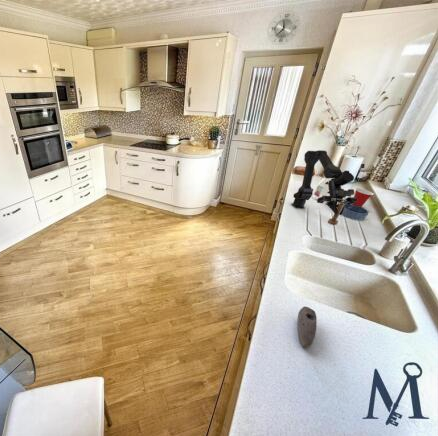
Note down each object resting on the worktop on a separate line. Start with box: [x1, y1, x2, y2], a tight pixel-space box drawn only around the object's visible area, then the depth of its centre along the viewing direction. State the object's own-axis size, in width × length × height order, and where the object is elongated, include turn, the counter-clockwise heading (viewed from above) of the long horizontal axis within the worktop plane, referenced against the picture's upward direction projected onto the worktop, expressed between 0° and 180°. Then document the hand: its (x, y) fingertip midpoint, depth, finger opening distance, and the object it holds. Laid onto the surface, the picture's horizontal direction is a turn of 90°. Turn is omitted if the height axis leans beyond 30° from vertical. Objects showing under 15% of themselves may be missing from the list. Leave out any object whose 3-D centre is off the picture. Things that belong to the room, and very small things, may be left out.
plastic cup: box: [351, 187, 375, 207], centre depth 172 cm, size 11×11×12 cm
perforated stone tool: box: [296, 305, 318, 350], centre depth 79 cm, size 15×5×7 cm, turn 147°
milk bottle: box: [312, 175, 332, 201], centre depth 178 cm, size 8×8×20 cm
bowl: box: [342, 204, 370, 221], centre depth 159 cm, size 14×14×5 cm
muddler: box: [327, 203, 345, 226], centre depth 132 cm, size 4×4×13 cm
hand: (338, 214), depth 131 cm, fingers closed on muddler, 2 cm apart
